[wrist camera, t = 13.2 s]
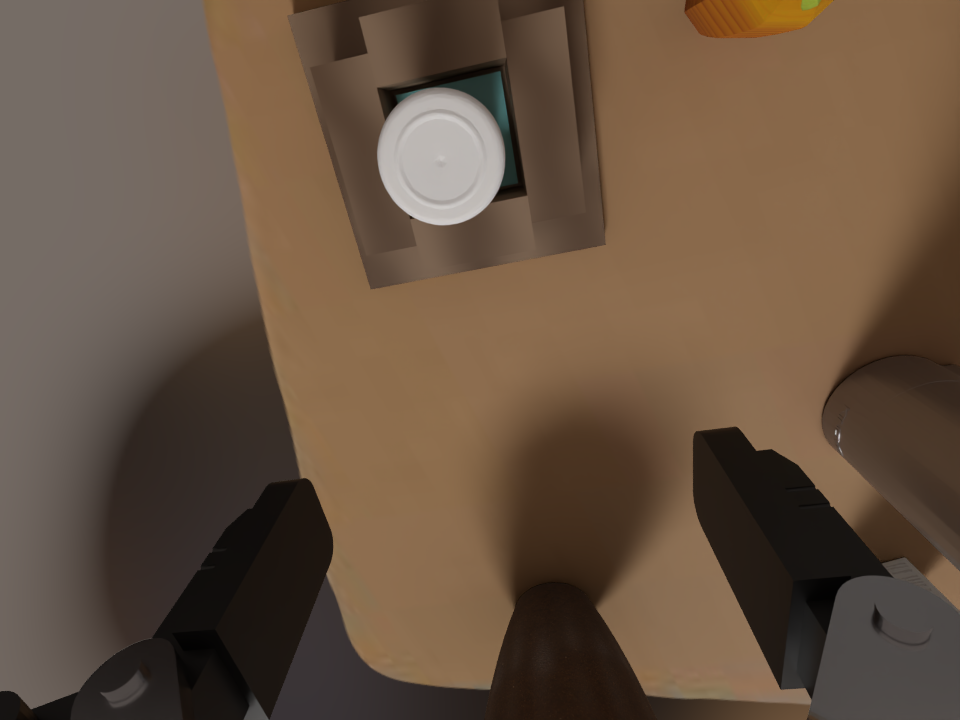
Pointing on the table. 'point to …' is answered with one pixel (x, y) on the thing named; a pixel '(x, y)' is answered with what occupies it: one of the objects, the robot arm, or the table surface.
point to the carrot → (751, 16)
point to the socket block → (444, 59)
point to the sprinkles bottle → (441, 156)
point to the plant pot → (563, 663)
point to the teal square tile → (493, 99)
